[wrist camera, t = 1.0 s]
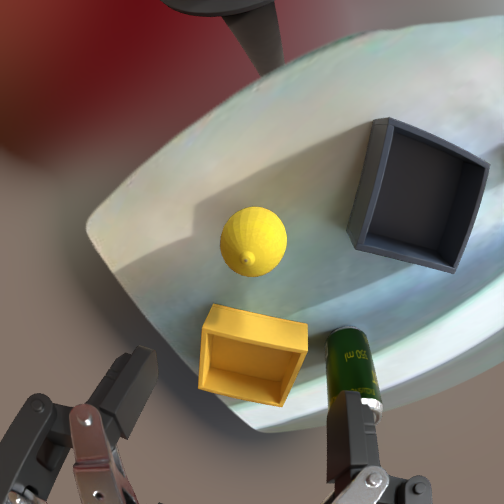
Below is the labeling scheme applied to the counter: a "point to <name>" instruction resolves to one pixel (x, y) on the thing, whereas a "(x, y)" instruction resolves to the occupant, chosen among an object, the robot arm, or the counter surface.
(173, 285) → the counter surface
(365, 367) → the beer can
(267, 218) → the lemon
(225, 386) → the yellow bin
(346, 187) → the counter surface
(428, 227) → the slate bin
